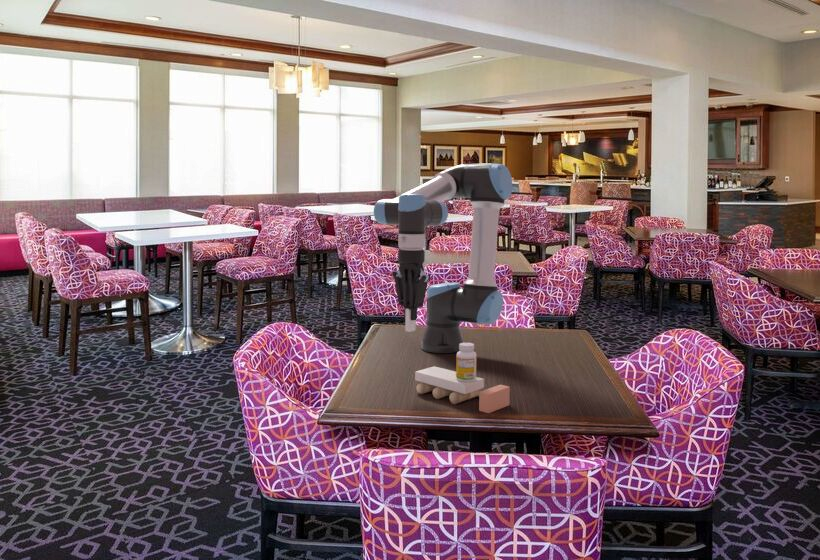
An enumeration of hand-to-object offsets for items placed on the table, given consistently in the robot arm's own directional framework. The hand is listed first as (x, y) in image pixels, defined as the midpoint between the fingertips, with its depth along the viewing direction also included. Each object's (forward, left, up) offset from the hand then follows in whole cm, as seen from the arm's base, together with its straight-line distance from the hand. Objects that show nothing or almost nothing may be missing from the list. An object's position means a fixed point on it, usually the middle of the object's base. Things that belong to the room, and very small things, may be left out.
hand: (410, 330), depth 195 cm
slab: (+14, 0, -13) cm, 19 cm away
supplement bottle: (+20, 0, -10) cm, 23 cm away
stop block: (+30, 0, -16) cm, 34 cm away
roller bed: (+14, 0, -16) cm, 21 cm away
